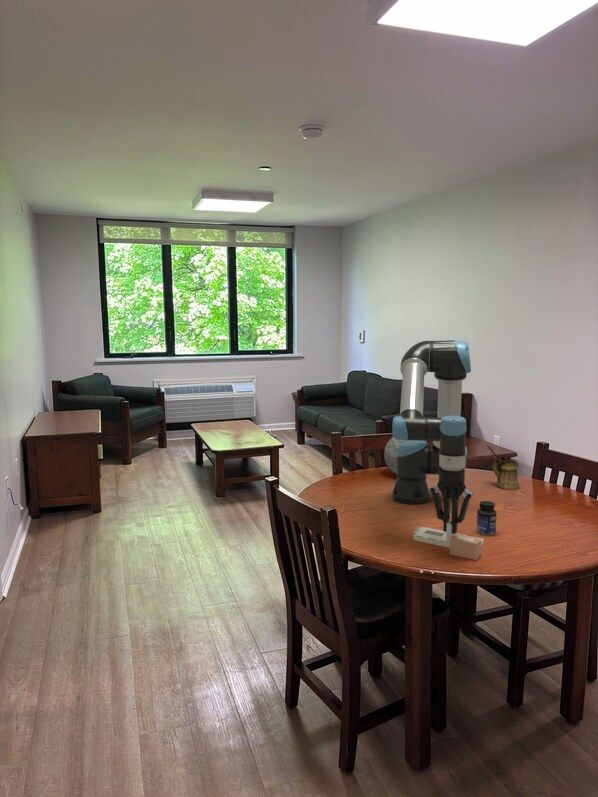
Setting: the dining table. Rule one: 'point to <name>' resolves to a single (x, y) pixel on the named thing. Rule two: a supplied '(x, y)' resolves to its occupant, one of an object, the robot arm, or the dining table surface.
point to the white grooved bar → (434, 537)
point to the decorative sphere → (392, 453)
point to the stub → (465, 546)
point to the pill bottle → (486, 518)
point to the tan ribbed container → (505, 473)
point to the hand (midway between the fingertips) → (449, 542)
